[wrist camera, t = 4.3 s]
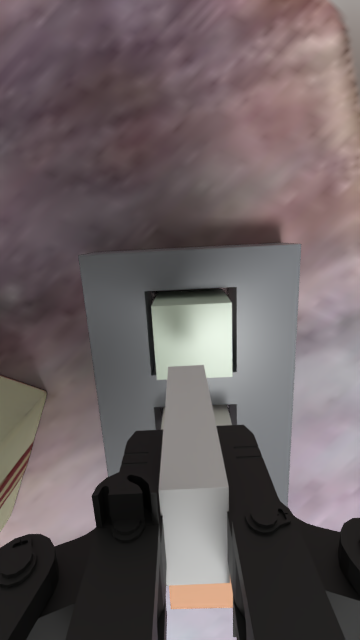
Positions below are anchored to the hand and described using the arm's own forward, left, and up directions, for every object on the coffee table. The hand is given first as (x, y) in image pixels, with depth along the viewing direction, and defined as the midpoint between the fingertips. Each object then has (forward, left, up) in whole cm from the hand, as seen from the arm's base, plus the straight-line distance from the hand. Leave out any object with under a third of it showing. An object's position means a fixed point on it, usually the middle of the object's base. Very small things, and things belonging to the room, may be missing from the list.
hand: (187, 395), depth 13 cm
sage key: (0, 0, -11) cm, 11 cm away
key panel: (0, -8, -12) cm, 15 cm away
